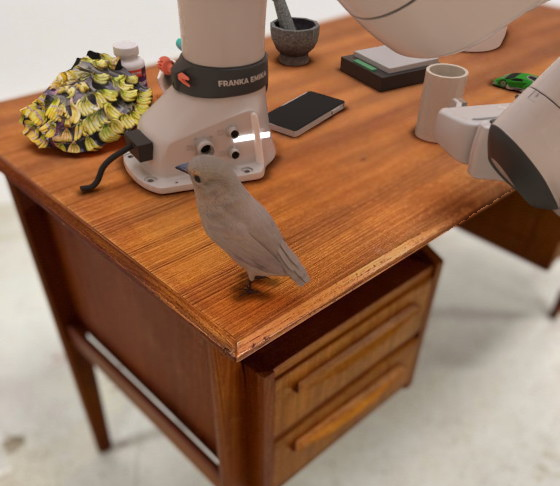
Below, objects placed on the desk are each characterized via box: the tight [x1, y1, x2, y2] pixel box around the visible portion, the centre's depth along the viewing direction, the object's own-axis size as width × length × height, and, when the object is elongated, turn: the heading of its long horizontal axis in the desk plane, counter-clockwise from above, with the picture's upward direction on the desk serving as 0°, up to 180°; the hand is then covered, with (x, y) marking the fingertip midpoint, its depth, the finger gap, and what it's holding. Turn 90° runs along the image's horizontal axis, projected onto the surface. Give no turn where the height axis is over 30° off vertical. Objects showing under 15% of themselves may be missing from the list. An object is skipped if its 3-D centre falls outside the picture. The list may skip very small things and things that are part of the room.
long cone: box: [156, 56, 177, 95], centre depth 106 cm, size 6×6×19 cm
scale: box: [339, 44, 440, 93], centre depth 111 cm, size 15×13×4 cm
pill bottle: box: [112, 40, 149, 87], centre depth 95 cm, size 5×5×10 cm
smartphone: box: [268, 90, 346, 138], centre depth 96 cm, size 8×1×15 cm
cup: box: [414, 62, 470, 144], centre depth 89 cm, size 6×6×10 cm
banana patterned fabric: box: [18, 49, 154, 154], centre depth 86 cm, size 20×16×7 cm
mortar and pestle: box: [269, 0, 321, 67], centre depth 113 cm, size 11×9×12 cm
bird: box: [175, 154, 311, 298], centre depth 57 cm, size 5×14×15 cm, turn 72°
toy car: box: [491, 72, 539, 93], centre depth 107 cm, size 10×5×2 cm, turn 52°
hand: (487, 101), depth 76 cm, fingers open, 8 cm apart
